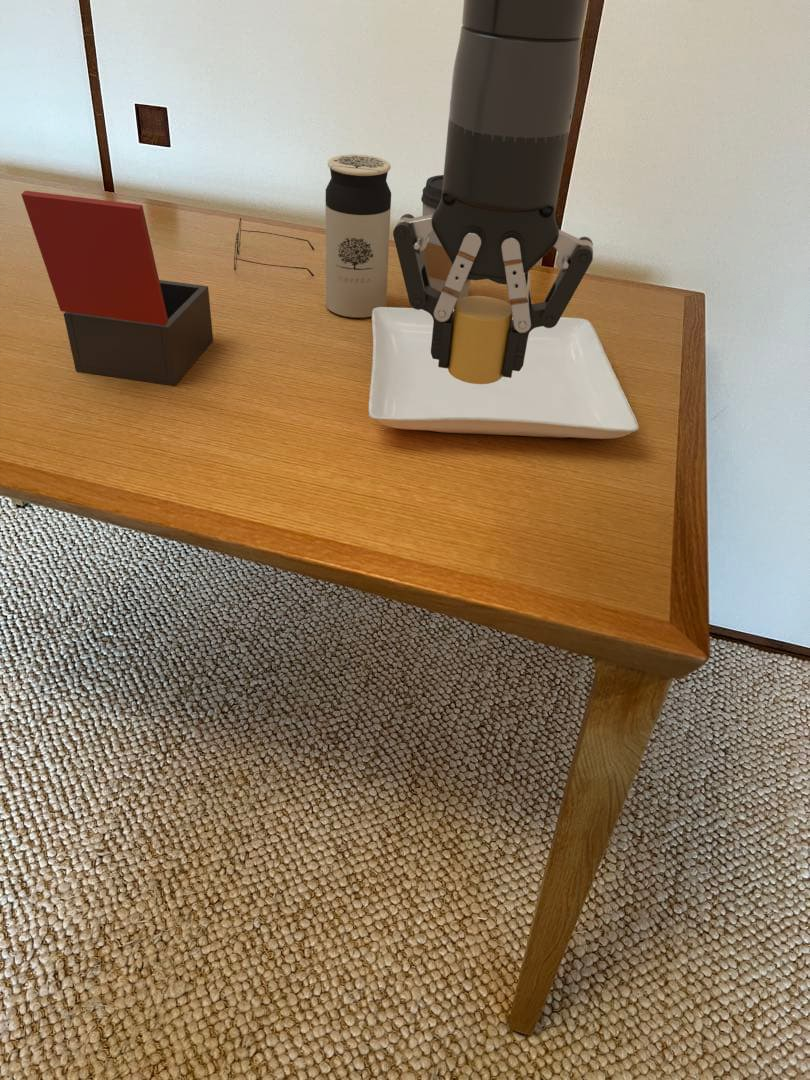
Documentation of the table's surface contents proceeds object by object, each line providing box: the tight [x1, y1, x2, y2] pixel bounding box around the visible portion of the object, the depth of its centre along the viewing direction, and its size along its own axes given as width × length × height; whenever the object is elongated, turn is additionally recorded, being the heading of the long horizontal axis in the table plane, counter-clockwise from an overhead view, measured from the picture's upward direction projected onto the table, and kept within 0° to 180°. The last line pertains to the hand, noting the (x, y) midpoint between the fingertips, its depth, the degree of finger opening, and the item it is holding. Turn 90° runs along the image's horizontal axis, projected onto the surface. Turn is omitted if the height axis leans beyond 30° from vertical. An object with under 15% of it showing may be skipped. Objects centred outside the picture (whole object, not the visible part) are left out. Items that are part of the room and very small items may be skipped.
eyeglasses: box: [233, 217, 315, 277], centre depth 117 cm, size 11×13×5 cm
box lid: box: [20, 190, 168, 326], centre depth 80 cm, size 13×12×1 cm
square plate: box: [367, 306, 640, 440], centre depth 91 cm, size 27×27×4 cm
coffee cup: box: [420, 174, 472, 302], centre depth 107 cm, size 8×8×15 cm
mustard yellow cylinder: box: [448, 295, 512, 384], centre depth 59 cm, size 4×4×5 cm
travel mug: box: [325, 154, 392, 319], centre depth 102 cm, size 8×8×18 cm
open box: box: [63, 279, 214, 387], centre depth 92 cm, size 12×12×7 cm
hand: (476, 367), depth 61 cm, fingers closed on mustard yellow cylinder, 4 cm apart
